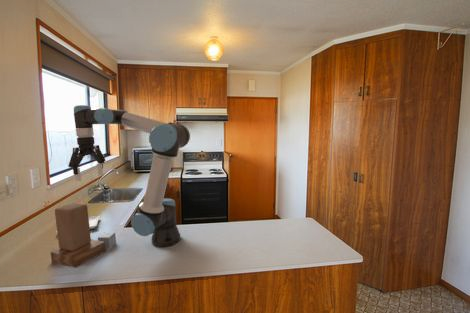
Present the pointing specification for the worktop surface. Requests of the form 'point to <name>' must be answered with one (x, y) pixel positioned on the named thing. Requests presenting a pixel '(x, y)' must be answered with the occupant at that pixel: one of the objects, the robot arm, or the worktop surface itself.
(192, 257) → the worktop surface
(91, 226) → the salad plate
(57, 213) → the block
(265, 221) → the worktop surface
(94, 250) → the plinth
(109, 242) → the slate cube
